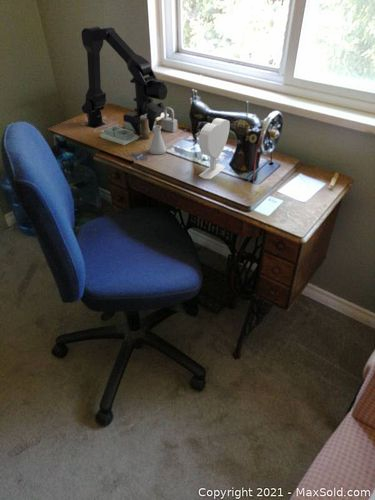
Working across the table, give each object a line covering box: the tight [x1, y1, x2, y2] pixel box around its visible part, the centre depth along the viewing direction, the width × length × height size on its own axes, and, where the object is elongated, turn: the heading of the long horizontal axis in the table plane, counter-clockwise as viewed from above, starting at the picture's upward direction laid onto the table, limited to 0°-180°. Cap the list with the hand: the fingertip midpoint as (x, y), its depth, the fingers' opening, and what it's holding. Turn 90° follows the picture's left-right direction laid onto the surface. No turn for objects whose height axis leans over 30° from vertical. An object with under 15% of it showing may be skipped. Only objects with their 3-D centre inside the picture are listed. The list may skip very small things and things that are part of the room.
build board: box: [99, 125, 140, 146], centre depth 160 cm, size 14×9×3 cm, turn 53°
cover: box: [142, 112, 170, 122], centre depth 171 cm, size 12×8×3 cm
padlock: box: [160, 106, 178, 133], centre depth 166 cm, size 7×4×10 cm, turn 51°
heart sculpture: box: [198, 117, 231, 180], centre depth 132 cm, size 16×5×18 cm, turn 148°
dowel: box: [140, 117, 150, 141], centre depth 158 cm, size 3×3×8 cm
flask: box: [148, 125, 168, 155], centre depth 147 cm, size 7×7×10 cm
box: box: [123, 117, 158, 134], centre depth 168 cm, size 12×8×4 cm, turn 53°
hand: (145, 133), depth 159 cm, fingers open, 7 cm apart
